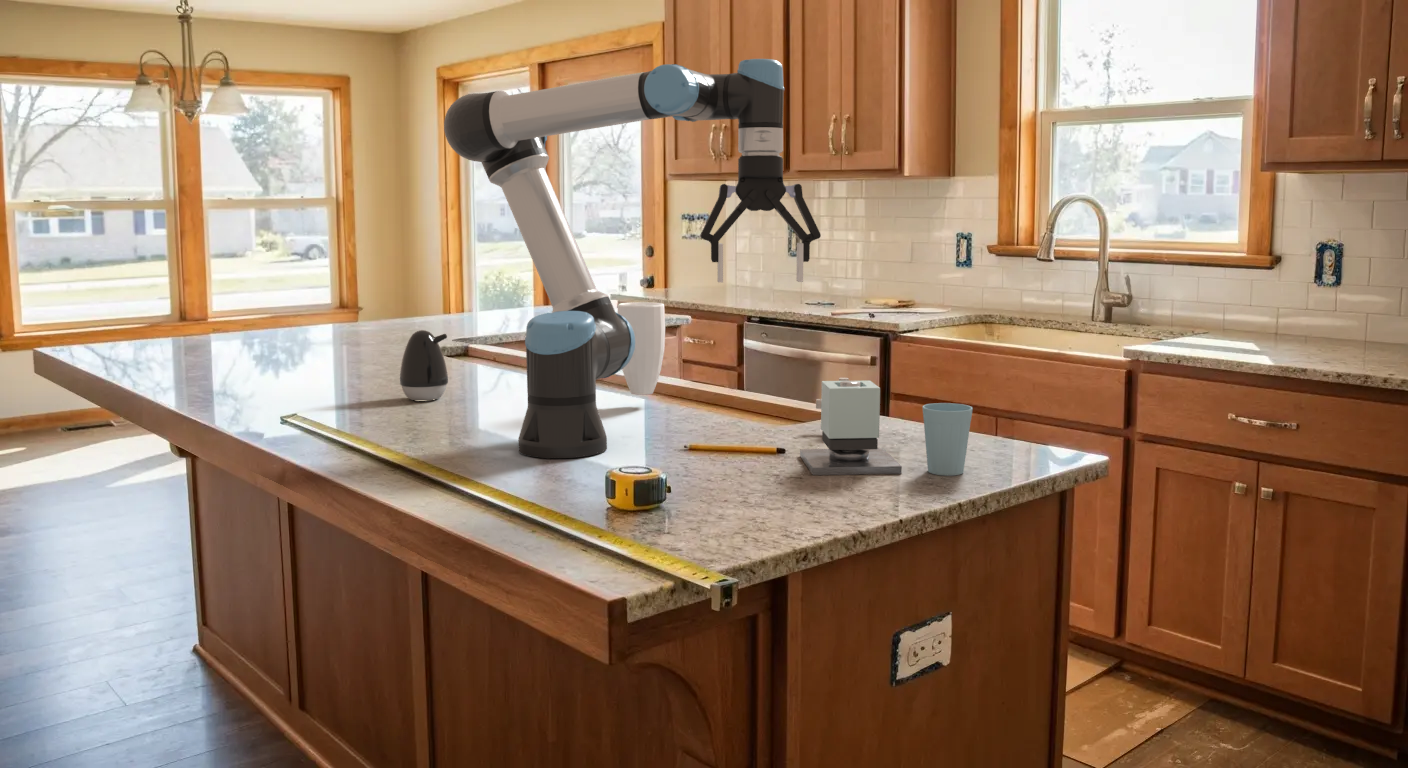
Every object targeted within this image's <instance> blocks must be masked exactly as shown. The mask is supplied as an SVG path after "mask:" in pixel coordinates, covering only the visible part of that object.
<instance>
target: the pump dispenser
mask: <svg viewBox="0 0 1408 768" xmlns="http://www.w3.org/2000/svg"><path fill="white" fill-rule="evenodd" d="M447 338H448V335H447V333H443V334H440V335H437V336H434V335H433V334H432V332H430V331H428V330H426V329H421V330H420V329H419V330H417V331H415V332H413V333H412V335H411V336H410V337H409V339H408V341H407V344H406V346H405V349H404V352H403V355H402V360H401V366H400V372H399V384H400V386H401V388H402V391H403V393H404V395H405V396H406V397H407V398H408V399H410V400H412V401H413V400H433V399H437V400H439V399H440V398H441V397H443V395H444V394H445V392H446V390H447V384H449V376H448V375H449V374H448V369H447V365H446V359H445V357H444V354H443V352H442V351H443V350H442V349H441V347H440V346H441V345H439V343H440V342H442V341H444V340H445V339H447Z"/></svg>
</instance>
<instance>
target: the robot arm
mask: <svg viewBox="0 0 1408 768" xmlns="http://www.w3.org/2000/svg"><path fill="white" fill-rule="evenodd" d="M784 93H785V87H784V68H783V64H782V63H781V62H780V61H778V60H776V59H772V58H750V59H744V60H741V61H739V64H738V68H737V72H733V73H723V74H722V73H720V74H718V73H716V74H715V73H714V74H708V73H703V72H700V71H696V70H693V69H690V68H687V67H685V66H683V65H679V64H676V63H675V64H674V63H673V64H671V63H670V64H668V63H667V64H661V65H658V66H656V67H655V68H654V69H652V70H650V71H645V72H644V71H643V72H637V73H632V74H631V73H630V74H625V75H620V76H619V75H618V76H615V77H608V78H603V79H602V78H601V79H595V80H592V81H591V80H590V81H584V82H578V83H573V84H567V85H563V86H556V87H551V88H550V87H549V88H544V89H538V90H533V91H526V92H521V93H515V94H514V93H513V94H508V93H507V92H506V91H504V90H496V91H489V92H479V93H475V92H474V93H469V94H468V93H467V94H465V95H462V96H460V97H459V98H457V99H456V100H455V101H454V102H453V103H452V104H451V105H450V106H449V107H448V109H447V111H446V114H445V116H444V121H443V131H444V136H445V138H446V140H447V143H448V144H449V146H450V148H451V149H452V150H453V151H454V152H455V153H456V154H457V155H458V156H460V157H462V158H463V159H466V160H468V161H470V162H471V161H472V162H477V163H478V162H479V163H480V162H481V165H482V167H483V169H484V172H485V173H486V176H487V178H488V181H489V182H490V183H491V184H493V185H496V186H498V187H500V188H501V190H502V192H503V194H504V196H505V199H506V201H507V204H508V206H509V208H510V211H511V213H512V216H513V218H514V220H515V223H516V225H517V227H518V229H519V232H520V234H521V237H522V239H523V240H524V241H523V242H524V243H525V245H526V248H527V251H528V253H529V255H530V257H531V260H532V263H533V264H534V268H535V269H536V271H537V273H538V276H539V278H540V282H541V283H542V285H543V288H544V290H545V293H546V294H547V297H548V299H549V301H550V304H551V306H552V311H551V312H546V313H545V312H544V313H541V314H538V315H536V316H534V317H532V318H531V319H530V320H529V321H528V322H527V324H526V329H525V330H526V333H525V339H524V345H525V354H526V356H525V357H526V358H525V360H526V383H527V384H526V387H527V389H526V390H527V392H526V393H527V408H526V411H525V414H524V415H525V416H524V417H523V418H524V419H523V422H522V426H521V428H520V432H519V436H518V440H517V441H518V452H519V453H520V454H521V453H522V455H524V456H527V455H528V457H532V458H533V457H534V458H541V459H573V458H585V457H589V456H595V455H598V454H602V453H604V452H605V451H607V449H608V440H607V439H608V438H607V433H606V431H605V428H604V425H603V422H602V418H601V416H600V412H599V410H598V406H597V400H596V399H597V396H596V395H597V386H596V383H597V380H600V379H607V378H609V377H612V376H614V375H616V374H617V373H618V372H620V371H623V370H622V369H623V368H624V367H625V366H626V365H627V364H628V363H629V361H630V360H631V358H632V355H633V353H634V349H635V335H634V331H633V329H632V326H631V325H630V323H629V322H628V321H627V319H626V318H624V317H623V316H622V315H620V314H618V312H617V311H615V308H614V306H613V303H612V301H611V299H610V297H609V295H608V294H607V293H604V292H602V291H599V290H598V289H597V288H596V285H595V283H594V280H593V278H592V276H591V273H590V270H589V269H588V265H587V263H586V262H585V259H584V257H583V255H582V252H581V250H580V248H579V246H578V242H577V241H576V239H575V236H574V233H573V231H572V229H571V226H570V224H569V222H568V219H567V217H566V215H565V212H564V210H563V208H562V206H561V203H560V201H559V199H558V196H557V194H556V192H555V189H554V187H553V185H552V182H551V180H550V177H549V176H548V173H547V170H546V168H547V165H548V163H549V160H550V156H549V154H548V151H547V149H546V141H548V137H549V136H555V135H562V134H567V133H569V134H570V133H575V132H580V131H587V130H594V129H598V128H599V129H600V128H604V127H605V128H606V127H611V126H618V125H622V124H628V123H629V124H630V123H635V122H636V123H637V122H642V121H647V120H657V119H658V120H659V119H665V118H671V117H672V118H673V119H674V120H677V121H681V122H682V121H684V122H685V121H686V122H692V123H693V122H697V121H717V120H718V121H720V120H722V121H723V120H738V124H737V125H738V127H737V128H738V131H737V132H738V134H737V135H738V143H737V144H738V145H737V149H738V153H740V154H741V155H740V156H739V158H738V159H737V162H738V163H737V164H738V165H737V169H738V170H737V171H738V174H737V177H738V180H737V184H736V185H729V184H726V183H722V184H721V185H720V186H719V188H718V189H719V191H718V198H717V200H716V202H715V203H714V206H713V208H712V210H711V212H710V214H709V216H708V218H707V220H706V222H705V224H704V227H703V228H702V230H701V232H700V239H702V240H704V241H708V242H709V243H710V261H711V263H717V282H718V283H724V243H722V242H720V240H721V239H722V238H723V237H724V235H726V233H727V232H728V230H730V228H732V226H733V225H734V223H736V221H737V220H738V219H739V218H740V216H741V215H742V214H743V213H745V211H746V210H749V211H751V212H757V211H764V212H771V211H772V210H775V211H776V212H777V213H778V215H779V216H780V217H781V218H782V219H783V220H784V222H785V223H786V224H787V225H788V226H789V227H790V229H791V230H792V231H793V232H794V233H795V235H796V236H797V237H798V238H799V240H800V241H801V242H796V282H798V283H803V282H804V263H806V262H807V263H809V261H810V257H811V256H810V248H811V245H810V244H811V242H813V241H815V240H817V239H820V238H821V235H822V234H821V232H820V230H819V228H818V226H817V224H816V222H815V220H814V217H813V215H812V213H811V211H810V209H809V207H808V205H807V203H806V201H805V198H804V197H803V196H804V195H803V187H802V185H801V184H800V183H795V184H793V185H785V183H784V158H783V156H782V155H781V156H780V154H781V153H782V152H784V101H785V100H784V99H785V98H784V96H785V94H784ZM734 193H735V194H736V195H737V197H738V198H739V200H740V201H739V203H738V205H736V207H735V208H734V210H733V211H732V212H731V213H730V214H729V215H728V217H727V218H726V219H725V220H724V221H723V223H721V225H720V226H719V227H718V228H717V230H716V231H715V232H714V233H713V234H712V233H711V232H712V230H713V228H714V226H715V224H716V222H717V220H718V218H719V215H720V214H721V212H722V210H723V207H724V206H725V203H726V201H727V199H729V198H731V197H732V195H733V194H734ZM786 193H788V195H789V197H790V198H793V200H794V202H795V205H796V207H797V208H798V211H799V213H800V214H801V216H802V220H803V222H804V224H805V225H806V227H807V229H808V231H809V233H807V232H806V231H805V230H804V229H803V227H802V226H801V225H800V224H799V222H798V221H797V220H796V219H795V218H794V216H793V215H792V214H791V213H790V211H788V209H787V208H786V207H785V205H784V204H783V202H782V201H781V200H782V198H783V197H784V196H785V194H786Z"/></svg>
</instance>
